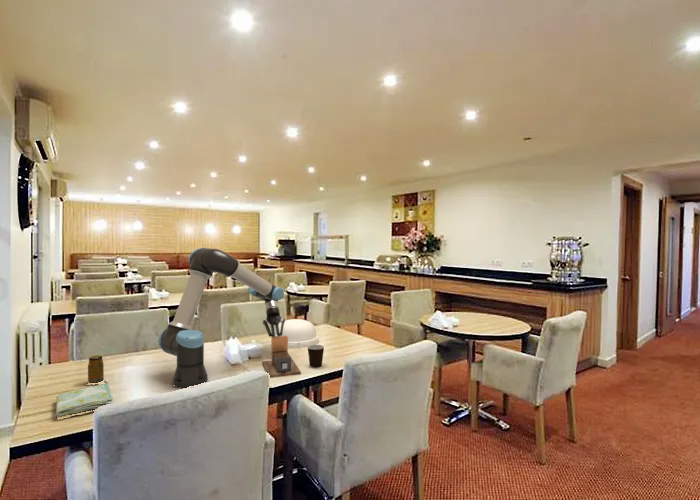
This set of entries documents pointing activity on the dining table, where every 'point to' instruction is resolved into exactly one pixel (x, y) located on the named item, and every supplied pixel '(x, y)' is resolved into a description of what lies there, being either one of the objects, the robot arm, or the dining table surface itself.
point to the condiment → (95, 369)
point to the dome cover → (299, 333)
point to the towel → (83, 400)
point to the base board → (272, 372)
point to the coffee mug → (315, 355)
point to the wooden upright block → (279, 348)
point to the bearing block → (282, 358)
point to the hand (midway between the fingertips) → (277, 346)
